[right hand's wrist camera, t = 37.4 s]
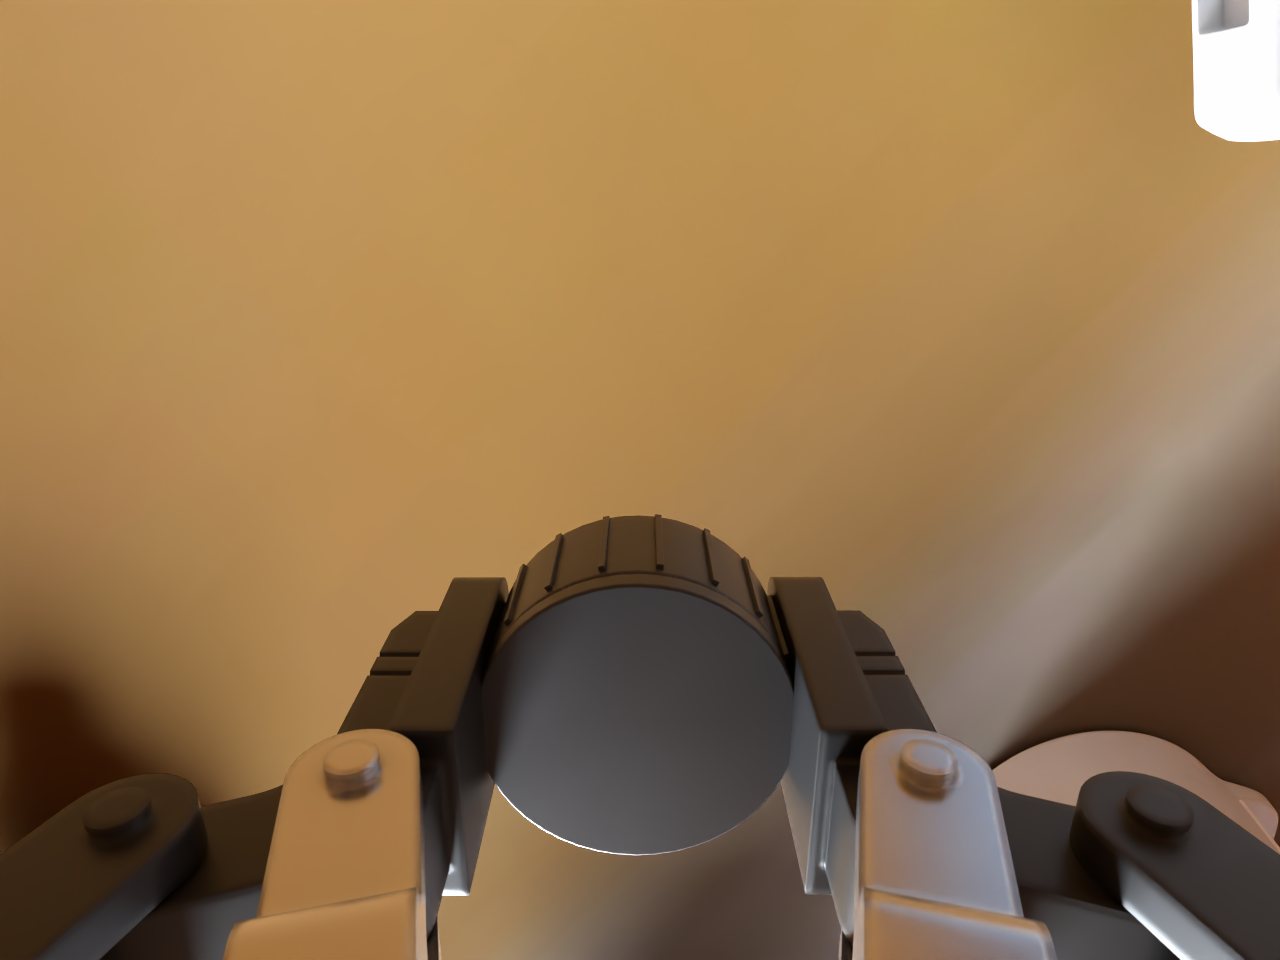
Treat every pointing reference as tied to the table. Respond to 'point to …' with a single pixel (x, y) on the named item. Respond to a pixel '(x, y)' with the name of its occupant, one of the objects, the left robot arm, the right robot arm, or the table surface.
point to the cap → (637, 688)
